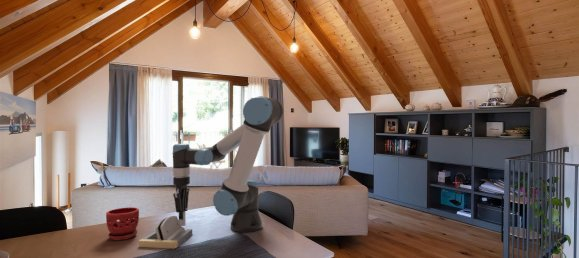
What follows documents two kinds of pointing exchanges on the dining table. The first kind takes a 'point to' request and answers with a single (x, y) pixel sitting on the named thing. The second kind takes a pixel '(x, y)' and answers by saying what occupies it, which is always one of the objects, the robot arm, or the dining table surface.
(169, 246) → the bracket
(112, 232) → the plant pot
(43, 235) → the dining table surface
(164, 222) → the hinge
